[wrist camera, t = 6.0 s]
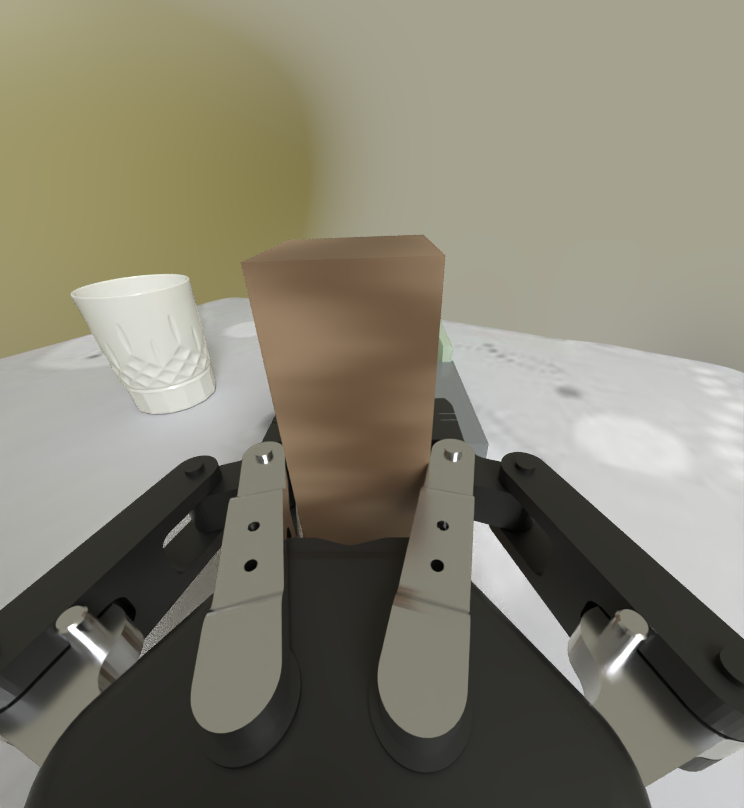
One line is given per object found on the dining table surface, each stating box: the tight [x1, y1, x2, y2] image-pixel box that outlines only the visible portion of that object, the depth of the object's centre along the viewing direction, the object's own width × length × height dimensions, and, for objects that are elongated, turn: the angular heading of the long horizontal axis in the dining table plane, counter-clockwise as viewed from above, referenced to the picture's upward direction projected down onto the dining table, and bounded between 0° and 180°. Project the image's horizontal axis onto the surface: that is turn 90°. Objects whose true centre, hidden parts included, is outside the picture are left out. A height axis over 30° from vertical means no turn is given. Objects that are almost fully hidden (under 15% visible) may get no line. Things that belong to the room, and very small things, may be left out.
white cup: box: [70, 274, 216, 414], centre depth 28 cm, size 8×8×10 cm
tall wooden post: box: [241, 235, 445, 545], centre depth 12 cm, size 4×4×14 cm
